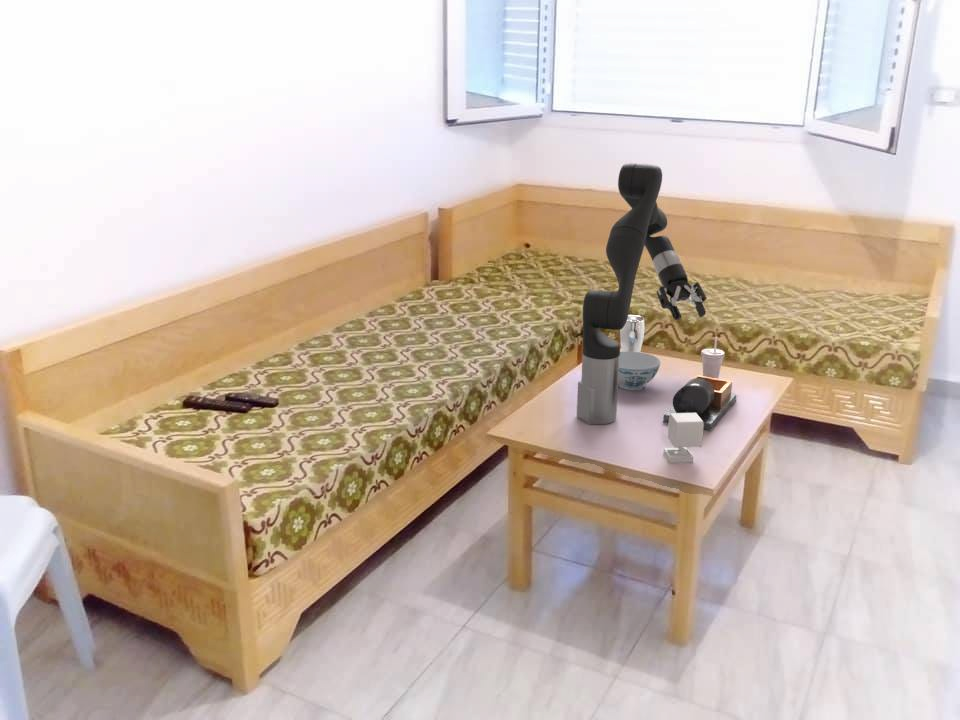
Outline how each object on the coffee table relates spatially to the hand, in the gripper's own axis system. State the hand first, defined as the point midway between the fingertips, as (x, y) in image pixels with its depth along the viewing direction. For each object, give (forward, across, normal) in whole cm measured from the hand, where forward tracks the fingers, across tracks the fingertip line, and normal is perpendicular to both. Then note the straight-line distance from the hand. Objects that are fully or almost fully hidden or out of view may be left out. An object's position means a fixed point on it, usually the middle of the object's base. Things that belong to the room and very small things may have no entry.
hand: (691, 317), depth 257 cm
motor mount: (+30, -15, -6) cm, 34 cm away
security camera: (+45, -37, -21) cm, 62 cm away
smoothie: (+20, 0, +4) cm, 20 cm away
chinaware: (+14, -21, +10) cm, 27 cm away
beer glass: (+4, -12, +20) cm, 24 cm away
